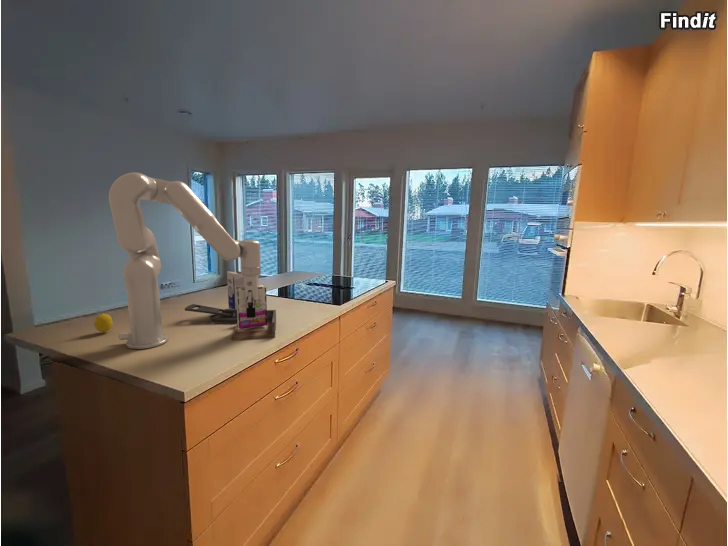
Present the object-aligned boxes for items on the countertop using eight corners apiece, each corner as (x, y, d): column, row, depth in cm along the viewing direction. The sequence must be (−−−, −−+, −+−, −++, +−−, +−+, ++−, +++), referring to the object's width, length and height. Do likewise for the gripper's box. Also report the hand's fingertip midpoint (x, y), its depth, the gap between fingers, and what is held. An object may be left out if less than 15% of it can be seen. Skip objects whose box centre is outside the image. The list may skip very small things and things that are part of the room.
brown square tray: (231, 340, 123) (230, 324, 122) (238, 325, 141) (237, 311, 140) (275, 337, 127) (274, 322, 126) (276, 323, 144) (275, 309, 143)
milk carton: (228, 310, 162) (226, 270, 159) (241, 308, 167) (240, 269, 164) (233, 313, 157) (232, 272, 154) (247, 311, 162) (246, 271, 158)
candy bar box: (264, 321, 138) (263, 284, 135) (267, 325, 133) (266, 286, 131) (236, 325, 132) (235, 286, 129) (238, 329, 128) (237, 289, 125)
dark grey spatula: (192, 303, 149) (247, 304, 150) (193, 317, 150) (247, 318, 151) (182, 308, 140) (240, 309, 141) (183, 323, 141) (241, 324, 142)
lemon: (117, 331, 129) (115, 312, 128) (102, 336, 124) (100, 316, 123) (106, 329, 131) (104, 310, 129) (92, 334, 125) (89, 314, 124)
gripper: (259, 274, 122) (260, 321, 125) (262, 268, 138) (262, 308, 141) (237, 275, 120) (239, 321, 123) (243, 268, 136) (244, 309, 139)
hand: (251, 314), depth 132 cm, fingers closed on candy bar box, 6 cm apart
